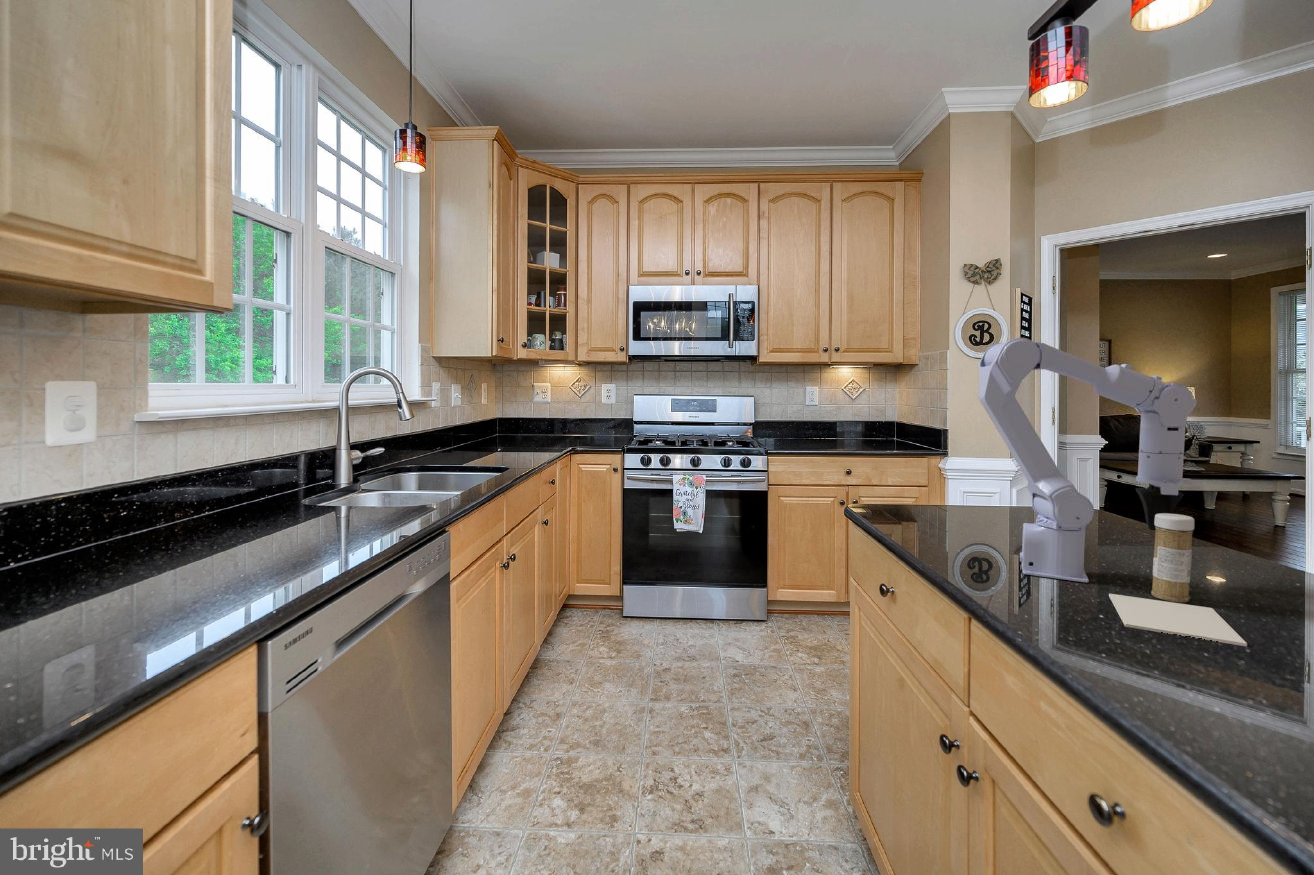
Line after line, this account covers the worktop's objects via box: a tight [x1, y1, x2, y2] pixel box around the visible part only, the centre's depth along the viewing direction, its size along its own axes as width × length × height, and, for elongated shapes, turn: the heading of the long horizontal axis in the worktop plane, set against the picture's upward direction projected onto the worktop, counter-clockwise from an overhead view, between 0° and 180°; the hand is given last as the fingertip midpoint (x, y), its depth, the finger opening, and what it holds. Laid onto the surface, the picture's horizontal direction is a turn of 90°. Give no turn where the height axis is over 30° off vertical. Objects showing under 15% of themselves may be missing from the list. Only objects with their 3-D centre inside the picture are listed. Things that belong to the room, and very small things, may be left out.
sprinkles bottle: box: [1150, 513, 1195, 604], centre depth 86 cm, size 5×5×14 cm
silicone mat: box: [1108, 593, 1248, 647], centre depth 79 cm, size 12×14×1 cm
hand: (1156, 529), depth 95 cm, fingers closed
